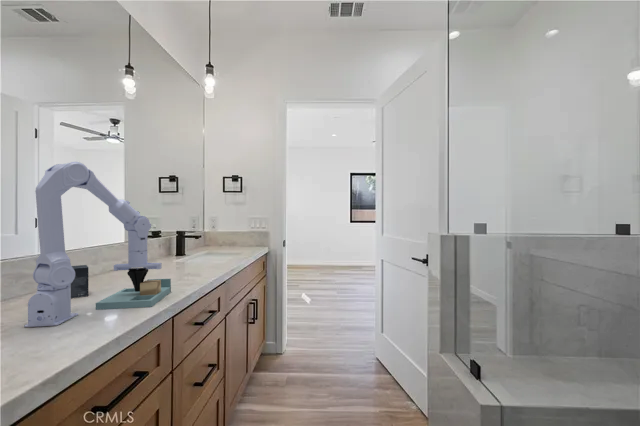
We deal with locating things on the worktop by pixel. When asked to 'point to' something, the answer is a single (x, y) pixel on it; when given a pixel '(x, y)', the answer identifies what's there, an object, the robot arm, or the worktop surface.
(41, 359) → the worktop surface
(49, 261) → the robot arm
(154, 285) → the block
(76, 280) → the box
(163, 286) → the trap deck
